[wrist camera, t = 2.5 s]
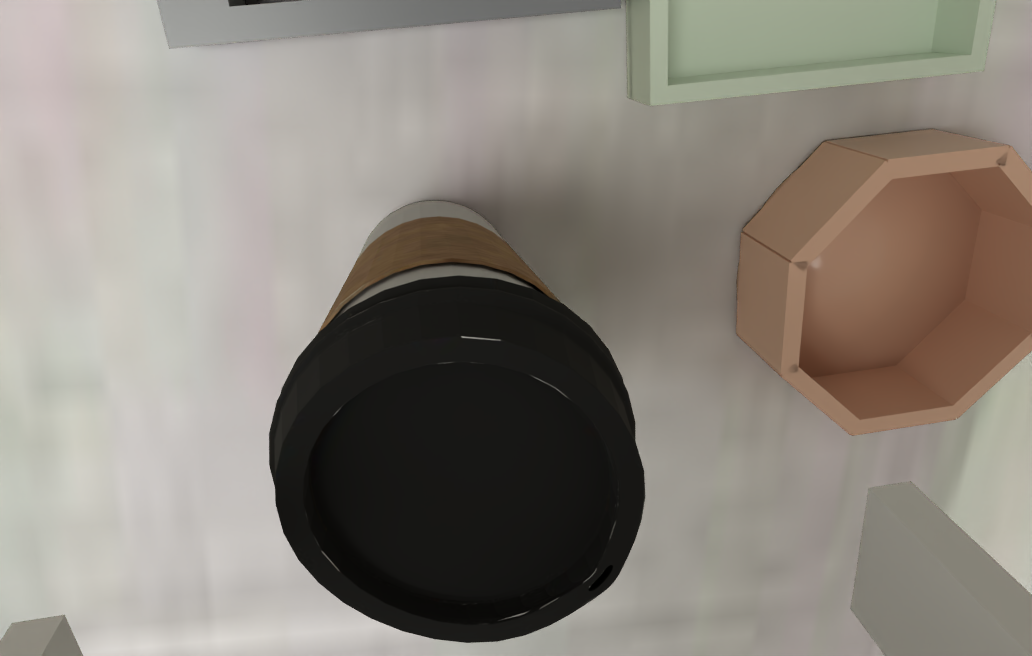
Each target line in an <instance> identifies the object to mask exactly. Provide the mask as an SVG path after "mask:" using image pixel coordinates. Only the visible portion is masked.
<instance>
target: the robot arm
mask: <svg viewBox="0 0 1032 656" xmlns="http://www.w3.org/2000/svg"><path fill="white" fill-rule="evenodd" d="M851 610H852V611H853V613H854V614H855V616H856V617H857V618H858V620H859V621H860V622H861V624H862V625H863V626H864V628H865V629H866V630H867V632H868V633H869V634H870V636H871V637H872V639H873V640H874V641H875V643H876V644H877V645H878V647H879V648H880V649H881V651H882V652H883V653H884V655H885V656H1032V595H1031V594H1030V593H1029V592H1028V591H1027V590H1026V589H1025V588H1024V587H1023V586H1022V585H1021V584H1020V583H1018V582H1017V581H1016V580H1015V579H1014V578H1013V577H1012V576H1011V575H1010V574H1009V573H1008V572H1007V571H1006V570H1005V569H1004V568H1002V567H1001V566H1000V565H999V564H998V563H997V562H996V561H995V560H994V559H993V558H992V557H991V556H990V555H989V554H988V553H987V552H985V551H984V550H983V549H982V548H981V547H980V546H979V545H978V544H977V543H976V542H975V541H974V540H973V539H972V538H971V537H969V536H968V535H967V534H966V533H965V532H964V531H963V530H962V529H961V528H960V527H959V526H958V525H957V524H956V523H955V522H953V521H952V520H951V519H950V518H949V517H948V516H947V515H946V514H945V513H944V512H943V511H942V510H941V509H940V508H939V507H937V506H936V505H935V504H934V503H933V502H932V501H931V500H930V499H929V498H928V497H927V496H926V495H925V494H924V493H923V492H921V491H920V490H919V489H918V488H917V487H916V486H915V485H914V484H913V483H912V482H905V483H898V484H892V485H886V486H879V487H873V488H869V490H868V496H867V503H866V510H865V516H864V523H863V529H862V536H861V543H860V549H859V556H858V562H857V569H856V576H855V582H854V589H853V596H852V602H851ZM0 656H83V654H82V652H81V650H80V648H79V646H78V643H77V641H76V639H75V637H74V635H73V633H72V630H71V628H70V626H69V624H68V622H67V619H66V617H65V615H61V616H54V617H48V618H42V619H35V620H29V621H23V622H16V623H12V624H11V626H10V627H9V629H8V630H7V632H6V633H5V635H4V636H3V638H2V640H1V641H0Z"/></svg>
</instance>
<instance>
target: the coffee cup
mask: <svg viewBox="0 0 1032 656" xmlns="http://www.w3.org/2000/svg"><path fill="white" fill-rule="evenodd" d="M269 465H270V469H271V473H272V477H273V481H274V485H275V498H276V507H277V511H278V514H279V518H280V522H281V525H282V529H283V533H284V535H285V536H286V538H287V540H288V542H289V544H290V545H291V547H292V549H293V551H294V553H295V554H296V556H297V558H298V560H299V561H300V562H301V563H302V564H303V565H304V567H305V568H306V569H307V570H308V571H309V572H310V573H311V575H312V576H313V577H314V578H315V579H316V580H317V581H318V583H320V584H321V585H322V586H323V587H325V588H326V589H327V590H328V591H330V592H331V593H332V594H333V595H335V596H336V597H337V598H338V599H340V600H341V601H342V602H343V603H345V604H347V605H349V606H350V607H352V608H354V609H356V610H357V611H359V612H361V613H363V614H364V615H366V616H368V617H370V618H371V619H374V620H376V621H379V622H381V623H384V624H386V625H389V626H391V627H394V628H396V629H399V630H401V631H405V632H409V633H413V634H417V635H421V636H425V637H429V638H433V639H439V640H448V641H457V642H465V643H471V642H495V641H501V640H506V639H510V638H515V637H519V636H524V635H527V634H529V633H532V632H534V631H537V630H539V629H542V628H544V627H547V626H549V625H551V624H553V623H555V622H557V621H558V620H560V619H562V618H564V617H566V616H568V615H570V614H571V613H573V612H574V611H576V610H577V609H579V608H581V607H582V606H584V605H585V604H587V603H588V602H590V601H591V600H593V599H594V598H596V597H597V596H598V595H600V594H601V593H602V592H604V591H605V590H606V589H607V588H608V587H609V586H610V585H611V584H612V583H613V582H614V581H615V580H616V578H617V577H618V575H619V573H620V571H621V569H622V568H623V565H624V563H625V561H626V559H627V557H628V555H629V553H630V550H631V548H632V546H633V543H634V541H635V538H636V535H637V532H638V529H639V526H640V523H641V519H642V513H643V507H644V501H645V482H644V469H643V466H642V462H641V459H640V456H639V452H638V449H637V446H636V442H635V419H634V415H633V411H632V407H631V403H630V399H629V395H628V392H627V389H626V387H625V385H624V383H623V379H622V376H621V374H620V372H619V370H618V368H617V366H616V364H615V361H614V359H613V357H612V355H611V353H610V351H609V349H608V348H607V347H606V346H605V344H604V343H603V342H602V341H601V339H600V338H599V337H598V336H597V334H596V333H595V332H594V331H593V329H592V328H591V327H590V325H588V324H587V323H586V322H585V321H583V320H582V319H581V318H580V317H579V316H577V315H576V314H575V313H574V312H572V311H571V310H570V309H569V308H568V307H566V306H565V305H564V304H562V303H560V301H559V300H558V299H557V298H556V297H555V296H554V294H553V293H552V292H551V291H550V290H549V289H548V288H547V287H546V286H545V285H544V283H543V282H542V281H541V280H540V279H539V278H538V277H537V276H536V275H535V273H534V272H533V271H532V270H531V269H530V268H529V267H528V266H527V265H526V264H525V262H524V261H523V260H522V259H521V258H520V257H519V256H518V255H517V254H516V253H515V251H514V250H513V249H512V248H511V247H510V246H509V245H508V244H507V243H506V242H505V241H504V240H503V239H502V237H501V236H500V235H499V234H498V232H497V231H496V230H495V229H494V227H493V226H492V225H491V224H490V223H489V222H488V221H487V220H485V219H484V218H483V217H482V216H481V215H479V214H478V213H476V212H474V211H473V210H471V209H469V208H467V207H465V206H462V205H459V204H455V203H452V202H446V201H436V200H434V201H423V202H417V203H414V204H410V205H407V206H404V207H402V208H400V209H399V210H397V211H395V212H393V213H391V214H390V215H389V216H387V217H386V218H385V219H384V220H382V221H381V222H380V223H379V224H378V225H377V227H376V228H375V229H374V230H373V231H372V233H371V234H370V235H369V237H368V239H367V241H366V243H365V245H364V247H363V249H362V251H361V253H360V255H359V257H358V259H357V261H356V263H355V265H354V267H353V269H352V270H351V272H350V274H349V276H348V278H347V280H346V282H345V284H344V285H343V287H342V289H341V291H340V293H339V295H338V297H337V299H336V300H335V302H334V304H333V306H332V308H331V310H330V312H329V313H328V315H327V317H326V319H325V321H324V323H323V325H322V327H321V329H320V330H319V332H318V334H317V335H316V337H315V338H314V339H313V340H312V341H311V343H310V344H309V345H308V346H307V347H306V349H305V350H304V351H303V352H302V353H301V355H300V356H299V357H298V358H297V360H296V362H295V364H294V366H293V368H292V370H291V372H290V374H289V376H288V378H287V380H286V382H285V384H284V386H283V387H282V390H281V394H280V396H279V398H278V400H277V403H276V407H275V412H274V416H273V420H272V424H271V428H270V433H269Z"/></svg>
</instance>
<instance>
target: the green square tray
mask: <svg viewBox="0 0 1032 656" xmlns="http://www.w3.org/2000/svg"><path fill="white" fill-rule="evenodd" d="M995 5H996V0H626V34H627V94H628V98H629V99H632V100H635V101H638V102H641V103H643V104H646V105H649V106H655V105H665V104H674V103H684V102H694V101H703V100H713V99H722V98H732V97H741V96H751V95H760V94H770V93H780V92H789V91H799V90H808V89H818V88H827V87H837V86H846V85H856V84H866V83H875V82H885V81H894V80H904V79H913V78H923V77H932V76H942V75H952V74H961V73H971V72H980V71H984V68H985V62H986V56H987V51H988V45H989V39H990V33H991V28H992V22H993V16H994V11H995Z"/></svg>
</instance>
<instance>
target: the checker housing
mask: <svg viewBox="0 0 1032 656" xmlns="http://www.w3.org/2000/svg"><path fill="white" fill-rule="evenodd" d="M157 3H158V7H159V11H160V15H161V19H162V23H163V27H164V30H165V34H166V38H167V42H168V46H169V49H172V48H183V47H194V46H205V45H216V44H227V43H238V42H249V41H261V40H272V39H283V38H294V37H305V36H316V35H327V34H338V33H349V32H360V31H372V30H383V29H394V28H405V27H416V26H427V25H438V24H449V23H460V22H471V21H482V20H494V19H505V18H516V17H527V16H538V15H549V14H560V13H571V12H582V11H593V10H605V9H616V8H621V0H302V1H290V2H278V3H266V4H255V5H245V1H244V0H157Z"/></svg>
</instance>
